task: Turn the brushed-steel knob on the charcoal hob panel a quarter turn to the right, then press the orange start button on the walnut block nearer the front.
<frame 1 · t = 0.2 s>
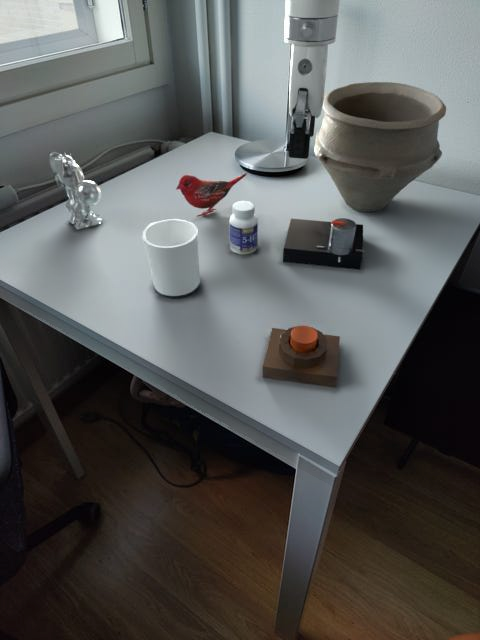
hand: (301, 146, 79), 18 cm above the table, tool pointing down, fingers open, 9 cm apart
decorative bird figurine: (214, 212, 100), on the table
start button: (303, 338, 63), point 5 cm above the table, slide at 0.2 cm
chrome statue: (87, 225, 97), on the table
mug: (173, 282, 81), on the table
pill bottle: (243, 248, 89), on the table
planter: (365, 204, 101), on the table
hob panel: (323, 249, 88), on the table
hob knob: (342, 236, 81), point 6 cm above the table, hinge at 0.0°
button block: (301, 361, 66), on the table
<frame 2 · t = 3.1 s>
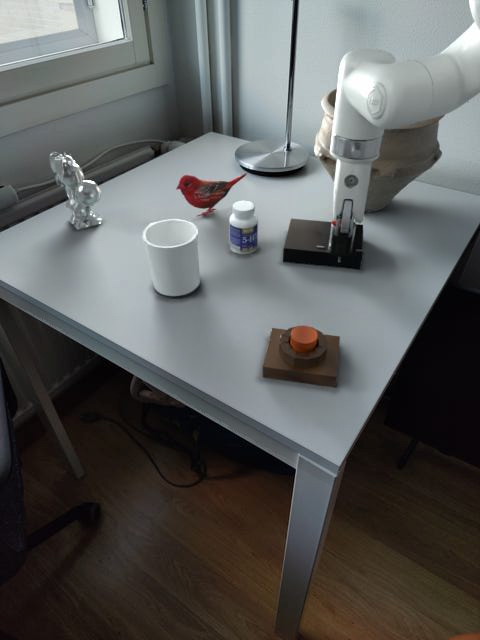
hand: (340, 245, 82), 4 cm above the table, tool pointing down, fingers closed on hob knob, 4 cm apart
hob knob: (342, 236, 81), point 6 cm above the table, hinge at -0.1°, touching gripper
everything else where it was.
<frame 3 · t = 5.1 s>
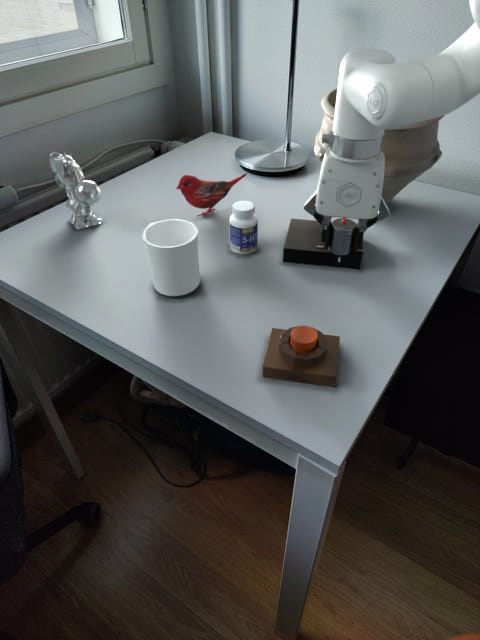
hand: (340, 245, 82), 4 cm above the table, tool pointing down, fingers closed on hob knob, 4 cm apart
hob knob: (342, 236, 81), point 6 cm above the table, hinge at -89.3°, touching gripper
everything else where it was.
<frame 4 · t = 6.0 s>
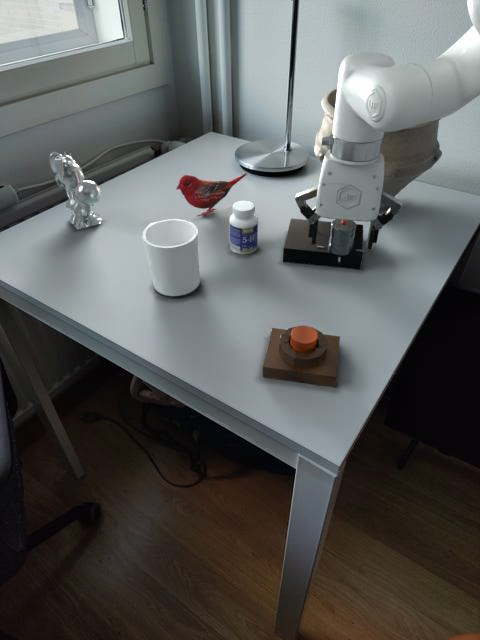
hand: (341, 243, 82), 4 cm above the table, tool pointing down, fingers open, 9 cm apart
hob knob: (342, 236, 81), point 6 cm above the table, hinge at -86.2°
everything else where it was.
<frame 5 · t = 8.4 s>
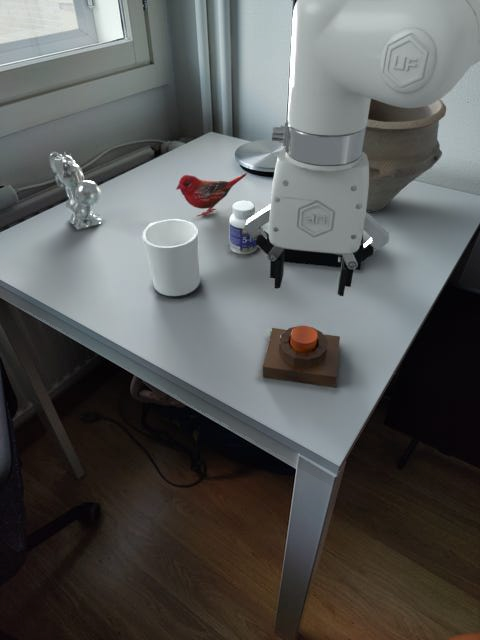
hand: (309, 284, 57), 14 cm above the table, tool pointing down, fingers open, 7 cm apart
nothing on the table moved.
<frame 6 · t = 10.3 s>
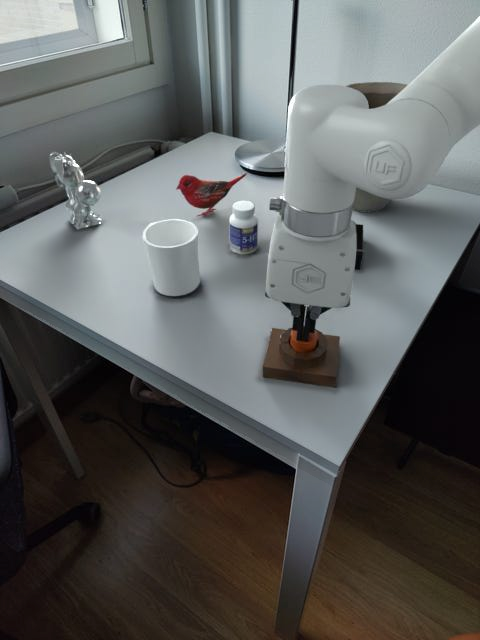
hand: (303, 333, 63), 5 cm above the table, tool pointing down, fingers closed
start button: (303, 338, 63), point 5 cm above the table, slide at 0.1 cm, touching gripper
everything else where it was.
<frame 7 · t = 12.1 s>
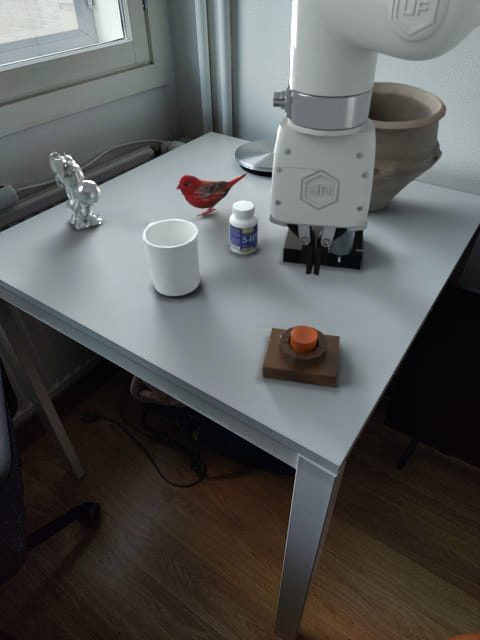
hand: (313, 268, 55), 16 cm above the table, tool pointing down, fingers closed
start button: (303, 338, 63), point 5 cm above the table, slide at 0.1 cm
everything else where it was.
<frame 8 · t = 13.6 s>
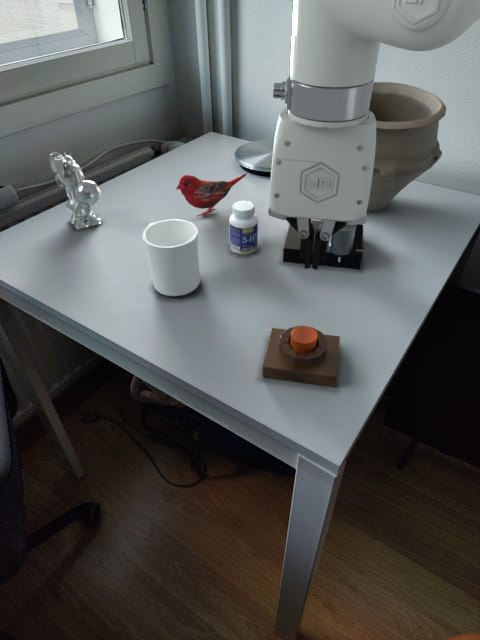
hand: (311, 262, 55), 17 cm above the table, tool pointing down, fingers closed
nothing on the table moved.
at the end: hob knob at -86° (first picture: +0°); start button pushed in 1.1 cm at the most during the clip, back to where it started at the end; start button slide at 0.1 cm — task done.
